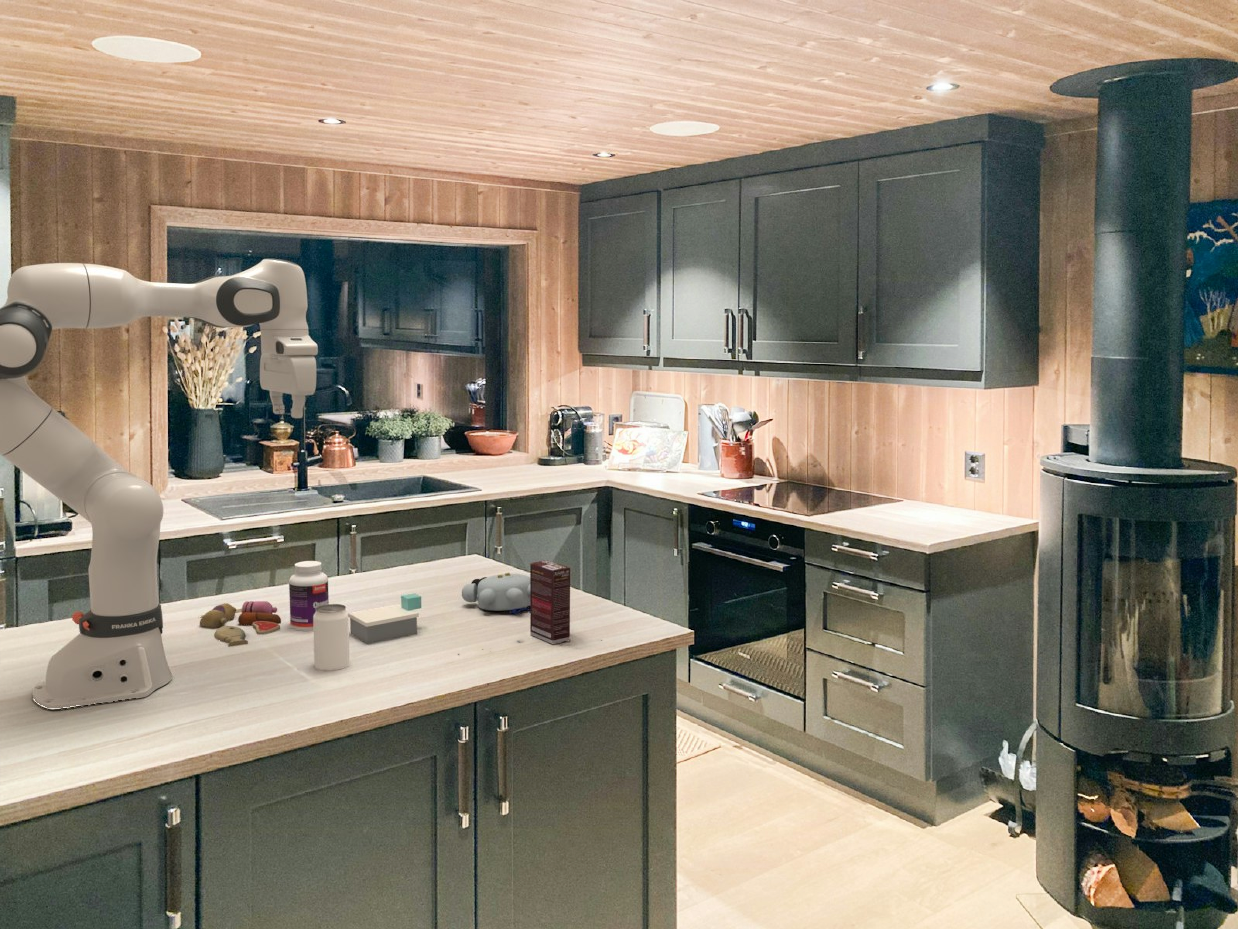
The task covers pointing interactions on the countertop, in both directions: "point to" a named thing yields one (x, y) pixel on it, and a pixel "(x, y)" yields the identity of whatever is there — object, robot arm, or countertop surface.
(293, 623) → the pill bottle
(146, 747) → the countertop surface
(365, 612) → the lid
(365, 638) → the tub
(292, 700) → the countertop surface
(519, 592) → the figurine
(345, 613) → the can
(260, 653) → the countertop surface
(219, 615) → the toy food set
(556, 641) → the supplement box
